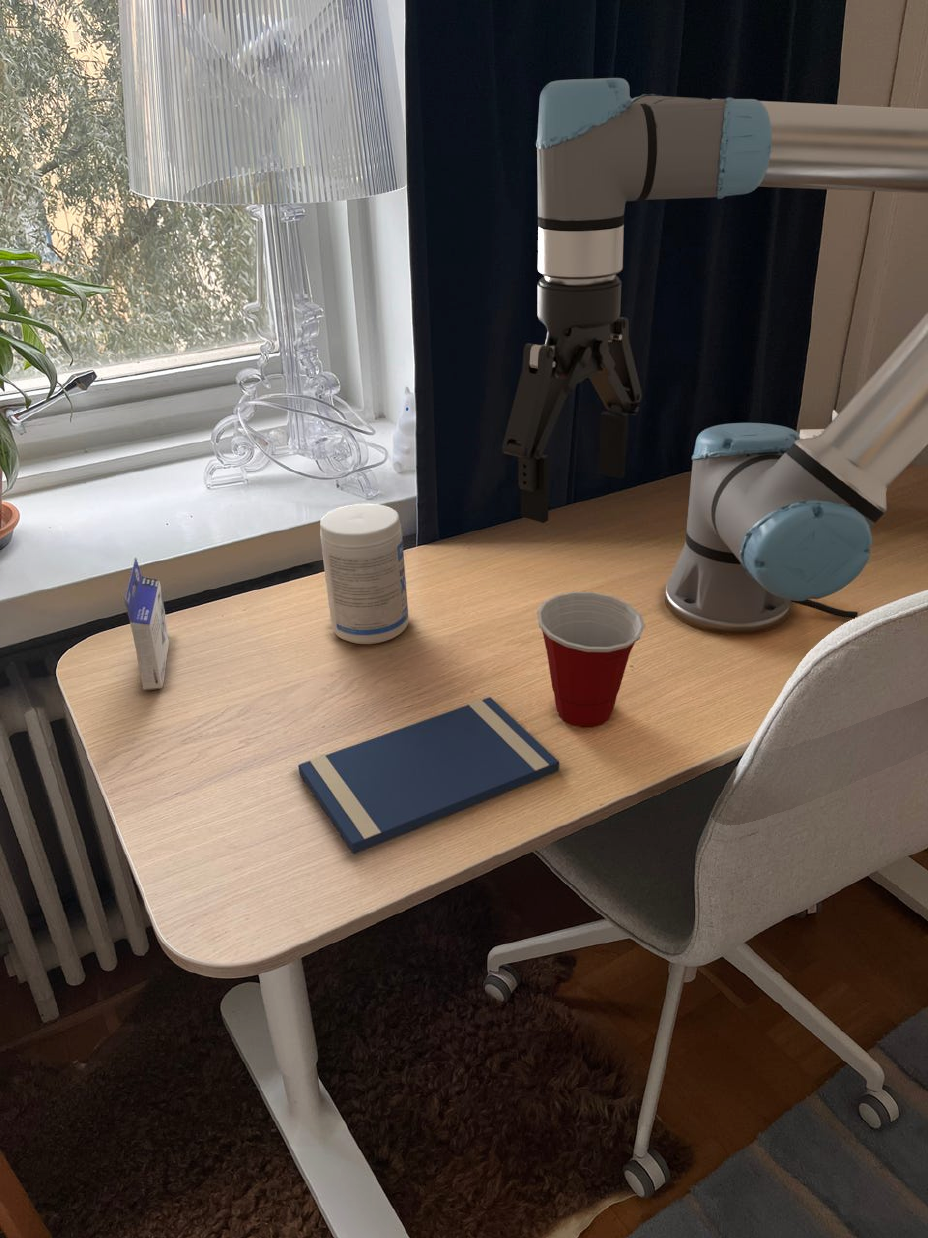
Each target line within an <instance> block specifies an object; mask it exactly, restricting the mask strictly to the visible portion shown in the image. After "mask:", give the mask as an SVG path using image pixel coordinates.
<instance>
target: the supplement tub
mask: <svg viewBox="0 0 928 1238" xmlns="http://www.w3.org/2000/svg"><path fill="white" fill-rule="evenodd" d="M319 525H320V531H319V535H320V544H321V553H322V560H323V569H324V577H325V587H326V592H327V601H328V608H329V609H328V610H329V618H330V624H331V628H332V631H333V633H334V634H335V635H336V636H337V637H339V638H340V639H342V640H344V641H347V642H349V643H352V644H358V645H372V644H373V645H375V644H379V643H384V642H388V641H390V640H392V639H394V638H396V637H397V636H399V635H401V634H402V633H403V632H404V631H405V630H406V628H407V626H408V624H409V609H408V608H409V605H408V591H407V580H406V566H405V554H404V542H403V530H402V524H401V521H400V514H399V513H398V512H397V510H395V509H394V508H392V507H390V506H387V505H384V504H380V503H354V504H349V505H347V504H346V505H343V506H339V507H337V508H334V509H332V510H330V511H328V512H327V513H325V514H324V515H323V516H322V517H321V519H320V522H319Z"/></svg>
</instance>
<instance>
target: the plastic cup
mask: <svg viewBox="0 0 928 1238" xmlns="http://www.w3.org/2000/svg"><path fill="white" fill-rule="evenodd" d="M536 615H537V621H538V627H539V629H540V630H541V633H542V635H543V641H544V645H545V649H546V655H547V656H546V657H547V663H548V668H549V675H550V682H551V687H552V691H553V694H554V702H555V707H556V712H557V715H558V717H559V718H560V719H561V720H562V721H563V723H566V724H568V725H570V726H572V727H577V728H582V729H586V728H588V729H589V728H596V727H600V726H603V725H604V724H605V723H607V722H608V721H610V718H611V716H612V715H613V714H612V713H613V712H614V710H615V709H614V708H615V704H616V700H617V696H618V693H619V692H620V690H621V689H620V688H621V685H622V681H623V678H624V675H625V671H626V667H627V664H628V662H629V661H628V660H629V658H630V654H631V652H632V650H633V647H634V645H636V643H637V642H638V641H639V640H640V639H641V637H642V634H643V632H644V630H645V627H646V624H645V621H644V619H643V615H642V614H641V613H640V612H639V611H638V610H637V609H636V608H635V607H634V606H633V605H632V604H631V603H628V602H627V601H625V600H622V599H620V598H618V597H616V596H614V595H610V594H605V593H601V592H595V591H569V592H565V593H559V594H555V595H553V596H551V597H549V598H548V599H546V600H545V601H543V602H542V603H541V605H540V606H539V608H538V610H537V611H536Z"/></svg>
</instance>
